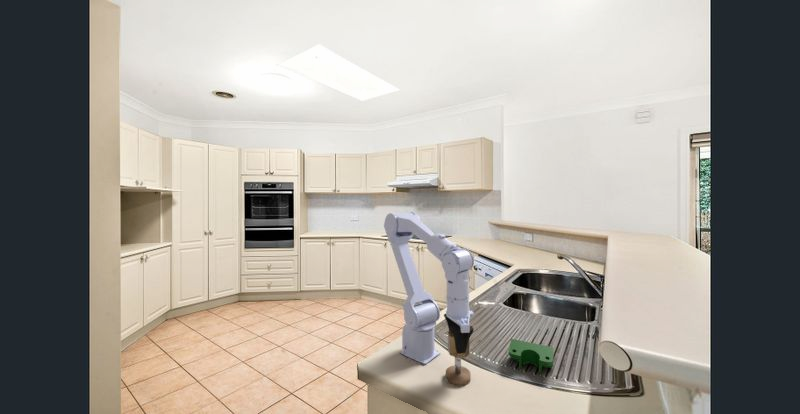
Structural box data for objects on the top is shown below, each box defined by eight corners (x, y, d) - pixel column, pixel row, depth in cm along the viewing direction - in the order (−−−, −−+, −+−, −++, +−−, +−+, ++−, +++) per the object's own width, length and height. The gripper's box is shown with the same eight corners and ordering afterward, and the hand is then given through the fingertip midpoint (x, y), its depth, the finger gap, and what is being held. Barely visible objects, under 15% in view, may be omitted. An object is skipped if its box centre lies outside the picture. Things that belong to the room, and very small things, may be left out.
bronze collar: (444, 352, 80) (444, 334, 79) (455, 345, 84) (455, 327, 83) (462, 360, 76) (462, 340, 76) (472, 351, 80) (472, 333, 80)
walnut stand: (441, 378, 80) (441, 373, 80) (453, 367, 85) (453, 362, 85) (462, 389, 76) (462, 383, 76) (474, 377, 81) (474, 371, 81)
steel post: (453, 372, 80) (453, 355, 80) (456, 370, 82) (456, 352, 81) (459, 375, 79) (459, 357, 79) (462, 372, 80) (462, 354, 80)
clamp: (516, 381, 86) (502, 353, 85) (518, 365, 91) (505, 339, 90) (560, 378, 80) (546, 348, 79) (560, 361, 85) (546, 333, 84)
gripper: (482, 306, 72) (482, 361, 73) (465, 286, 87) (465, 333, 87) (452, 307, 72) (453, 363, 73) (440, 287, 86) (441, 334, 87)
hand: (458, 346), depth 80 cm, fingers closed on bronze collar, 5 cm apart
